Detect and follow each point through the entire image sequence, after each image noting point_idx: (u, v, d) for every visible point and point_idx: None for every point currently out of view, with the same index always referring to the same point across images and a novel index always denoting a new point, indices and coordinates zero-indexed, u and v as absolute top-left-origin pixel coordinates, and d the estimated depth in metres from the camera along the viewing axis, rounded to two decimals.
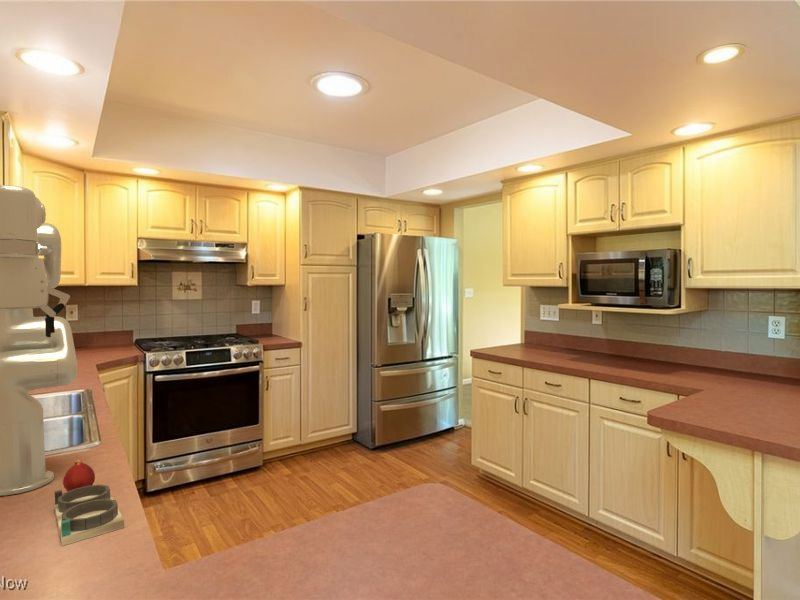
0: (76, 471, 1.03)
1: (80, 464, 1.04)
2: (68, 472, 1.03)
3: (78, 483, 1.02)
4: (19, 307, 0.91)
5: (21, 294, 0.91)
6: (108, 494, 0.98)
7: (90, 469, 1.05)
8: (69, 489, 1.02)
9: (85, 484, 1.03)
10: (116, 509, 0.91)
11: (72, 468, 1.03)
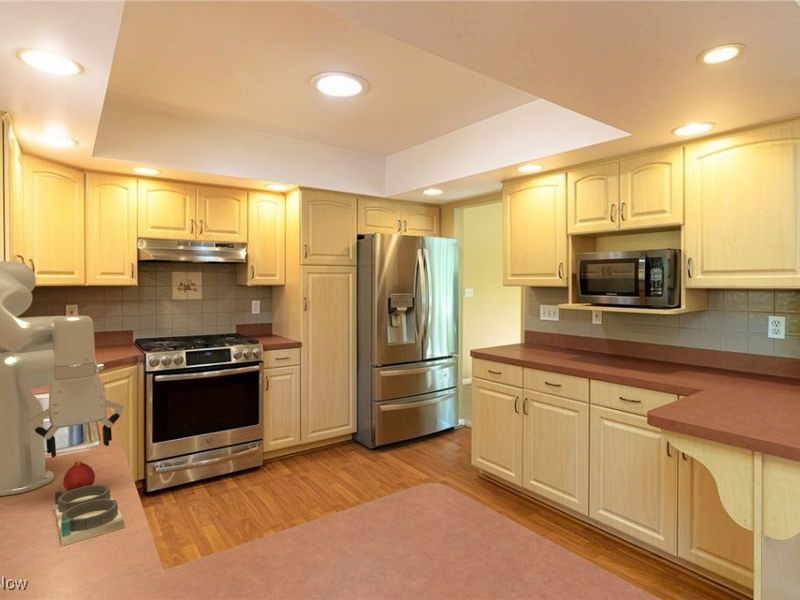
0: (76, 470, 1.03)
1: (80, 464, 1.04)
2: (68, 472, 1.03)
3: (78, 483, 1.02)
4: (82, 423, 1.03)
5: (84, 411, 1.03)
6: (108, 494, 0.98)
7: (90, 469, 1.05)
8: (69, 489, 1.02)
9: (85, 484, 1.03)
10: (116, 509, 0.91)
11: (72, 468, 1.03)
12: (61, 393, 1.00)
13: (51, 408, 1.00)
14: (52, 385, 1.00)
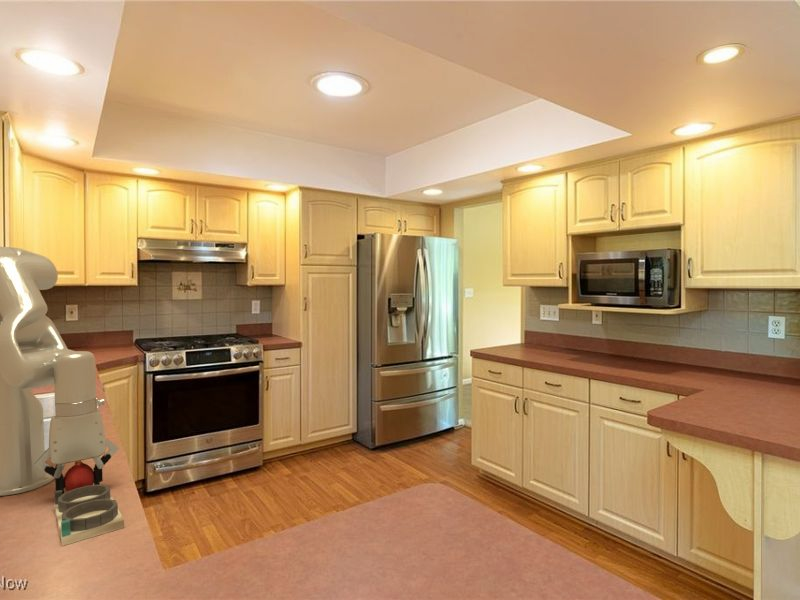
0: (76, 471, 1.03)
1: (80, 464, 1.04)
2: (68, 472, 1.03)
3: (78, 484, 1.02)
4: (81, 459, 1.03)
5: (83, 448, 1.03)
6: (108, 494, 0.98)
7: (90, 469, 1.05)
8: (69, 489, 1.02)
9: (85, 484, 1.03)
10: (116, 509, 0.91)
11: (72, 468, 1.03)
12: (62, 430, 1.01)
13: (51, 445, 1.00)
14: (52, 422, 1.01)
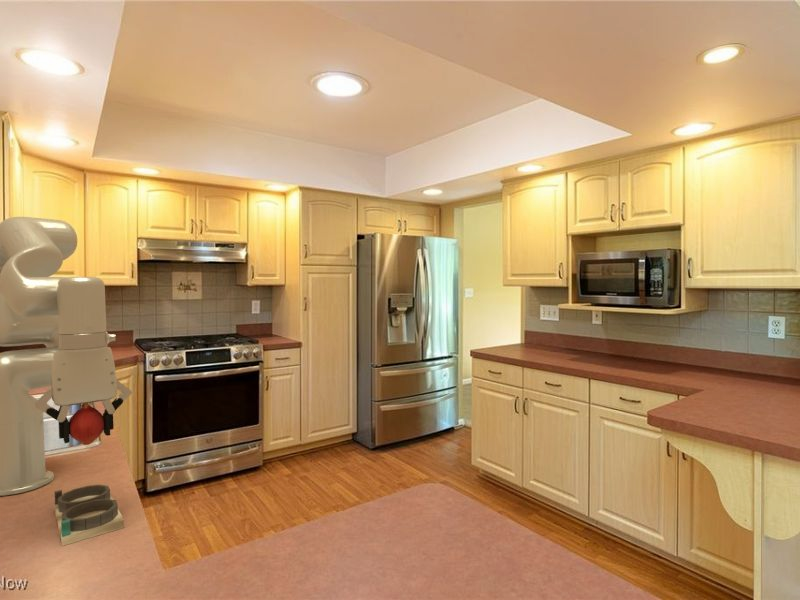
0: (83, 414, 0.88)
1: (88, 407, 0.89)
2: (74, 416, 0.88)
3: (86, 429, 0.87)
4: (89, 401, 0.89)
5: (92, 388, 0.88)
6: (108, 494, 0.98)
7: (99, 414, 0.90)
8: (75, 435, 0.87)
9: (93, 430, 0.88)
10: (116, 509, 0.91)
11: (79, 411, 0.88)
12: (66, 366, 0.86)
13: (54, 383, 0.85)
14: (56, 356, 0.86)
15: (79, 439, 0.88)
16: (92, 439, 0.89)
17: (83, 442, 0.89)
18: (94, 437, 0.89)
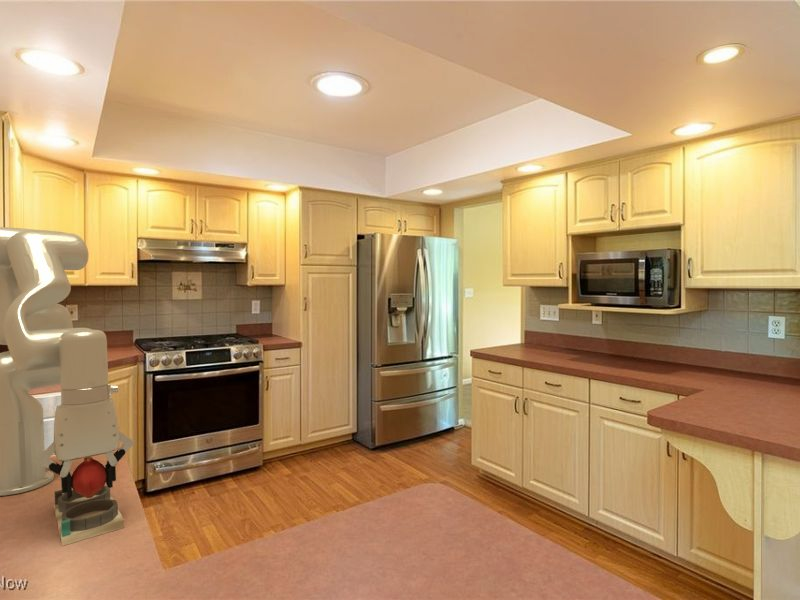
0: (86, 468, 0.88)
1: (90, 460, 0.89)
2: (76, 470, 0.88)
3: (89, 483, 0.87)
4: (92, 455, 0.89)
5: (94, 442, 0.89)
6: (108, 494, 0.98)
7: (102, 466, 0.90)
8: (78, 489, 0.87)
9: (96, 484, 0.88)
10: (116, 509, 0.91)
11: (81, 465, 0.89)
12: (69, 421, 0.86)
13: (56, 438, 0.85)
14: (58, 411, 0.86)
15: (82, 493, 0.88)
16: (95, 492, 0.89)
17: (86, 496, 0.89)
18: (97, 490, 0.89)
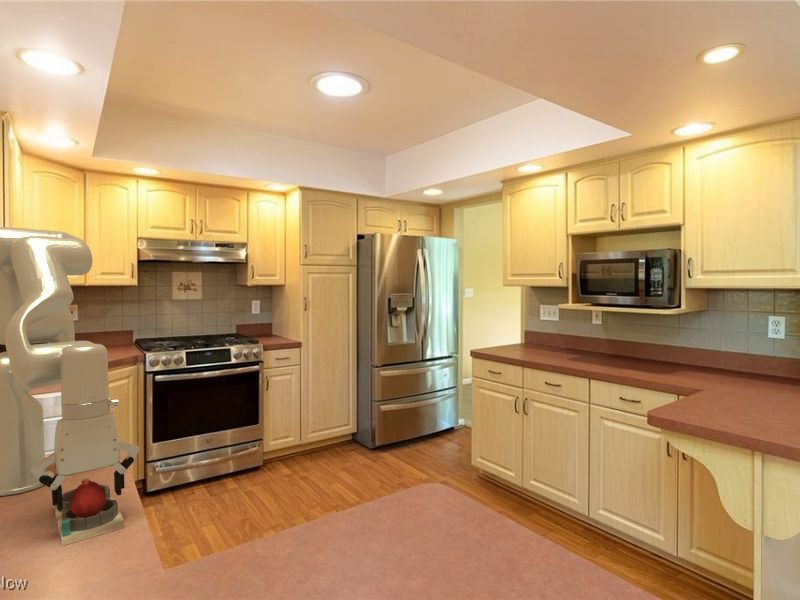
0: (84, 491, 0.88)
1: (88, 483, 0.89)
2: (75, 493, 0.88)
3: (88, 506, 0.87)
4: (92, 469, 0.89)
5: (95, 456, 0.89)
6: (108, 494, 0.98)
7: (100, 488, 0.90)
8: (77, 513, 0.87)
9: (95, 507, 0.88)
10: (116, 509, 0.91)
11: (79, 488, 0.88)
12: (69, 436, 0.86)
13: (57, 453, 0.85)
14: (59, 426, 0.86)
15: (81, 516, 0.88)
16: (94, 514, 0.89)
17: None
18: (96, 512, 0.89)
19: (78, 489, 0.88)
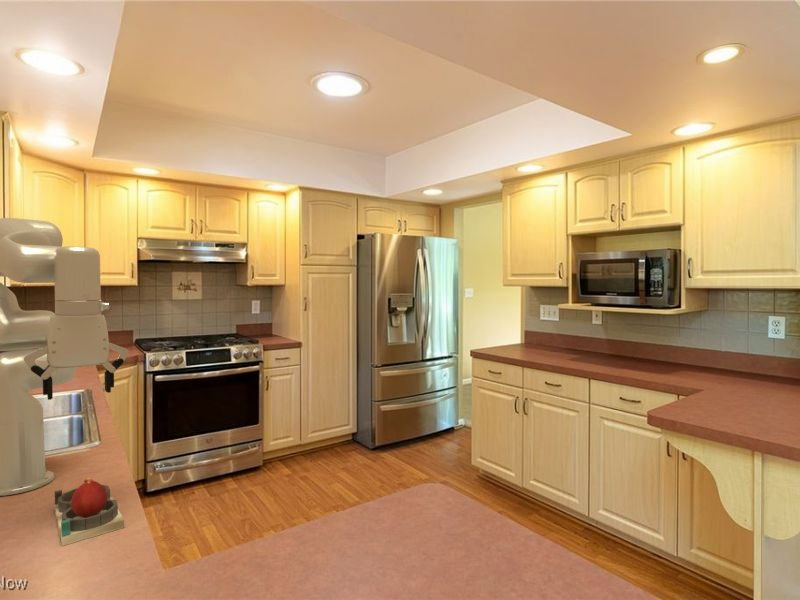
0: (86, 490, 0.88)
1: (91, 482, 0.90)
2: (77, 492, 0.88)
3: (89, 505, 0.88)
4: (83, 365, 0.94)
5: (85, 353, 0.93)
6: (108, 494, 0.98)
7: (102, 488, 0.91)
8: (78, 512, 0.88)
9: (96, 506, 0.89)
10: (116, 509, 0.91)
11: (81, 487, 0.89)
12: (61, 330, 0.91)
13: (49, 346, 0.90)
14: (52, 321, 0.91)
15: (82, 515, 0.88)
16: (95, 514, 0.90)
17: (86, 517, 0.89)
18: (97, 512, 0.90)
19: (80, 488, 0.89)
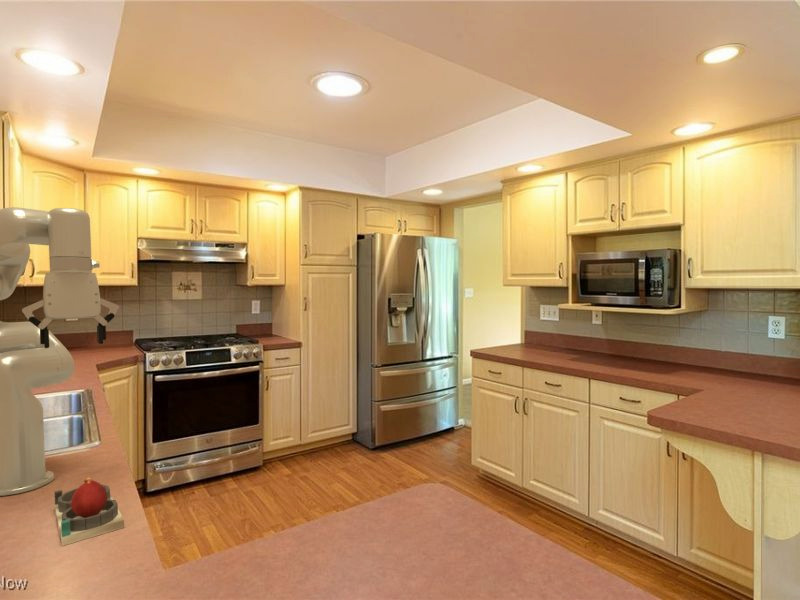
0: (86, 490, 0.88)
1: (91, 482, 0.90)
2: (77, 492, 0.88)
3: (89, 505, 0.88)
4: (76, 317, 1.02)
5: (78, 305, 1.02)
6: (108, 494, 0.98)
7: (102, 488, 0.91)
8: (78, 512, 0.88)
9: (96, 506, 0.89)
10: (116, 509, 0.91)
11: (81, 487, 0.89)
12: (56, 284, 0.99)
13: (45, 298, 0.99)
14: (47, 275, 0.99)
15: (82, 515, 0.88)
16: (95, 514, 0.90)
17: (86, 517, 0.89)
18: (97, 512, 0.90)
19: (80, 488, 0.89)
